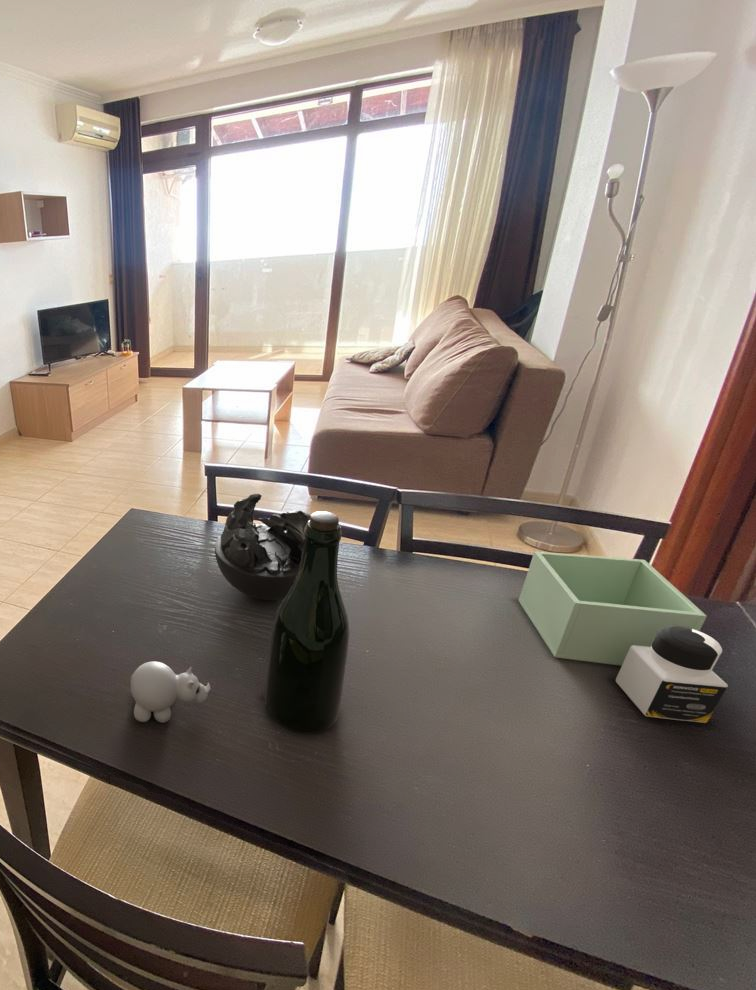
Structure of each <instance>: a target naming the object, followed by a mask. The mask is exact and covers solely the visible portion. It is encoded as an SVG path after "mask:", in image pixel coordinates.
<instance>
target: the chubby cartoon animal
mask: <svg viewBox="0 0 756 990" xmlns="http://www.w3.org/2000/svg"><path fill="white" fill-rule="evenodd" d="M129 679H130V692H131V694H132V697H133V699H134V701H135V704H134V708H133V716H134V718H135V720H136V721H138V722H139V723H147V722H148V721H149V720H150V719H151V717H152V712H153V717H154V719H155V720H156V721H157V722H158V723H161V724H163V723H168V721H170V719H171V716H172V712H171V706H172V705H173V704H174V703H175V701H176V700H177V699H178V700H180V701H181V702H184V703H191V702H195V703H197V704H201V703H204V702H205V701H206V700H207V699H208V697H209V692H210V691H211V684H210V683H209V682H207V684H206V685H204V684H203V683H201V682H199V678H198V677H197V676H196V675H195V674H194V673H193V667H192V666H190V667H189V668H188V669H187V670H186V671H185V672H182V673H179V674H176V673H175V672H174V671H173V669H172V668H171V667H169V666H168V665H167V664H165V663H163V662H161V661H153V660H152V661H148V662H144V663H142V664H141V665H140V666H138V667H137V668H136V669H135V671H134V672H133V674H131V675H130V678H129Z"/></svg>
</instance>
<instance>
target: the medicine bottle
mask: <svg viewBox="0 0 756 990" xmlns="http://www.w3.org/2000/svg"><path fill="white" fill-rule="evenodd" d="M722 653H723V647H722V646H721V644H720V643H719V641H717V640H716V639H715V638H713V637H712V636H710V635H708V634H706V633H704V632H702V631H701V630H700V631H697V630H694V629H691V628H687V627H682V626H665V627H662V628H660V629H659V631H658V633H657V635H656V637H655V639H654V641H653V643H652V645H651V647H646V646H634V645H633V646H631V647H630V649H629V651H628V653H627V656H626V658H625V660H624V662H623V665H622V666H620V669H619V671H618V673H617V676H616V678H615V683H616V684H617V685H618V686H619V688H620V689H621V690H622V691H623V692H624V693H625V695H627V697H628V698H629V699H630V700H631V702H632V703H633V704H634V705H635V706H636V707H637V708H638V710H639V711H640V712H641V713H642V714H643V716H644V717H648V718H654V719H655V718H656V719H665V720H675V721H682V722H683V721H684V722H693V723H701V724H706V723H708V722H709V720H710V719H711V717H712V715H713V713H714V711H715V709H716V708H717V706H718V704H719V702H720V701H721V699H722V698H723V696H724V694H725V692H726V690H727V689H728V686H729V685H728V683H727V682H725V681H724V680H723V679H722V678H721V677H720V676H719V675H718V674H717V673H716V672H715V671H713V669H714V667H715V666H716V664H717V662H718V660H719V659H720V657H721V655H722Z"/></svg>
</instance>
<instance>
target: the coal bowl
mask: <svg viewBox="0 0 756 990" xmlns="http://www.w3.org/2000/svg"><path fill="white" fill-rule="evenodd" d="M262 496H263V495H261V494H260V493H257V492H256V493H255V492H254V493H252V494H250V495H248V497H246V498H245V497H244V498H242V499H240V500H237V501H236V502H235V503H234V504H233V508H234V510H232V511H231V512H229V514H228V515H227V517H226V519H225V525H224V528H223V531H222V533H221V534H220V535H219V537H217V539H216V540H215V544H214V554H215V555H214V556H215V560H216V563H217V566H218V568H219V570H220V572H221V574H222V575H223V577H224V578H225V580H226V581H227V582H228V583H229V584H230V585H231V586H232V587H233V588H234V589H236V590H237V591H239V592H240V593H242V594H244V595H245V596H248V597H251V598H254V599H256V600H263V601H277V600H282V599H283V597H284V596H285V594H286V593H287V591H288V590H289V588H290V586H291V585H292V583H293V581H294V580H295V577H296V575H297V573H298V570H299V566H300V562H301V557H302V551H303V545H304V528H305V526H306V523H307V522H308V521H310V517H311V514H309V513H308V512H305V511H302V510H298V511H297V510H289V511H285V512H282V513H280V514H270V516H269V518H268V517H263V518H259V521H260V522H261V524H258V523H257V524H256V523H254V513H255V508H256V506H257V504H258V503H259V501H261V498H262Z"/></svg>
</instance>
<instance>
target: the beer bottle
mask: <svg viewBox="0 0 756 990" xmlns="http://www.w3.org/2000/svg"><path fill="white" fill-rule="evenodd" d="M310 515H311V517H310V521H308V522H307V523H306V526H305V528H304V545H303V551H302V557H301V562H300V566H299V570H298V573H297V575H296V577H295V580H294V581H293V583H292V585H291V586H290V588H289V590H288V591H287V593H286V594H285V596H284V597H283V599H281V601H280V603H279V604H278V606H277V609H276V612H275V615H274V617H273V623H272V630H271V636H270V645H269V652H268V653H269V654H268V660H267V661H268V662H267V671H266V678H265V679H266V680H265V690H264V691H265V692H264V693H265V694H264V702H265V707H266V708H267V711H268V713H270V715H271V716H272V718H273V719H274V720H275V721H276V722H278V723H279V724H280V725H282V726H283V727H285V728H287V729H288V730H291V731H294V732H297V733H303V734H319V733H323V732H325V731H327V730H329V729H330V728H332V727H333V726H334V725H335V723H336V722H337V720H338V717H339V713H340V708H341V703H342V696H343V689H344V683H345V682H344V681H345V677H346V676H345V675H346V669H347V668H346V667H347V661H348V653H349V644H350V624H349V623H350V622H349V616H348V613H347V610H346V606H345V603H344V600H343V598H342V594H341V591H340V588H339V587H340V586H339V581H338V559H339V548H340V542H341V540H342V536H343V532H342V531H343V530H342V526H341V525H340V524H339V523H340V519H339V516H338V515H337V514H335V513H333V512H330V511H315V512H313V513H311V514H310Z"/></svg>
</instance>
